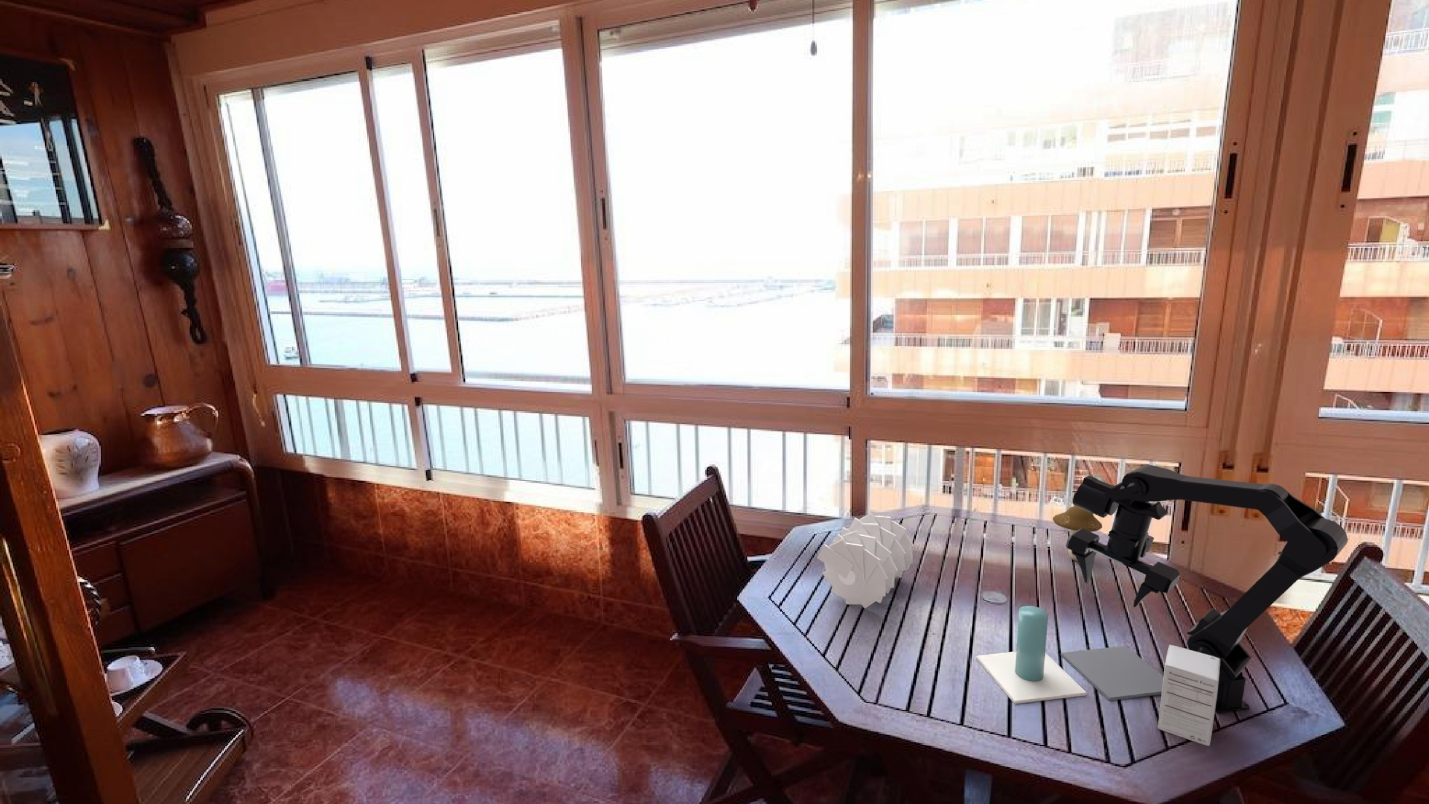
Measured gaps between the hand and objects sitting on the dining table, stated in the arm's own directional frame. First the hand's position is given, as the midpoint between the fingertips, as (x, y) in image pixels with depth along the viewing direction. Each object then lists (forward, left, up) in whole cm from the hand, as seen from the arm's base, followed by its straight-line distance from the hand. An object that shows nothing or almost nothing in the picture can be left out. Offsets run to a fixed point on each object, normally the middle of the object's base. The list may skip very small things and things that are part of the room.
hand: (1110, 594), depth 132 cm
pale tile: (-5, +20, -12) cm, 24 cm away
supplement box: (-22, +2, -13) cm, 26 cm away
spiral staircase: (+33, +39, -13) cm, 52 cm away
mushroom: (+38, -19, -13) cm, 44 cm away
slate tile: (-7, +3, -12) cm, 15 cm away
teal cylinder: (-6, +20, -12) cm, 24 cm away
